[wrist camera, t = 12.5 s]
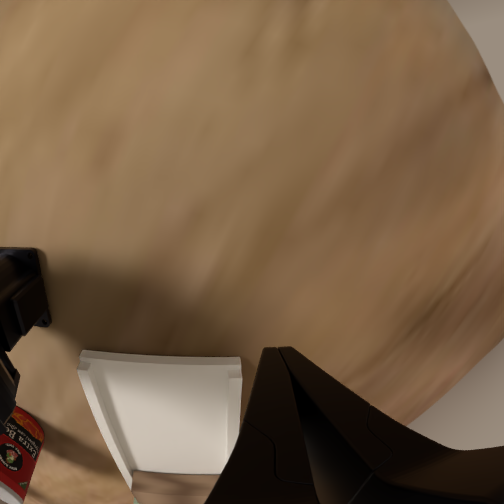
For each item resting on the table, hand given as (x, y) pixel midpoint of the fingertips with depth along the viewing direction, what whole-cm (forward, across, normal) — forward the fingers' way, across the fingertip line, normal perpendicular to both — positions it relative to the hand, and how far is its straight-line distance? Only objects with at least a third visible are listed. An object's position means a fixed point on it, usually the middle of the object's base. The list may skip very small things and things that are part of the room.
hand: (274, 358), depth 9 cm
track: (+12, +6, +22) cm, 25 cm away
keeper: (+11, +6, +29) cm, 31 cm away
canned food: (+12, +26, +23) cm, 37 cm away
